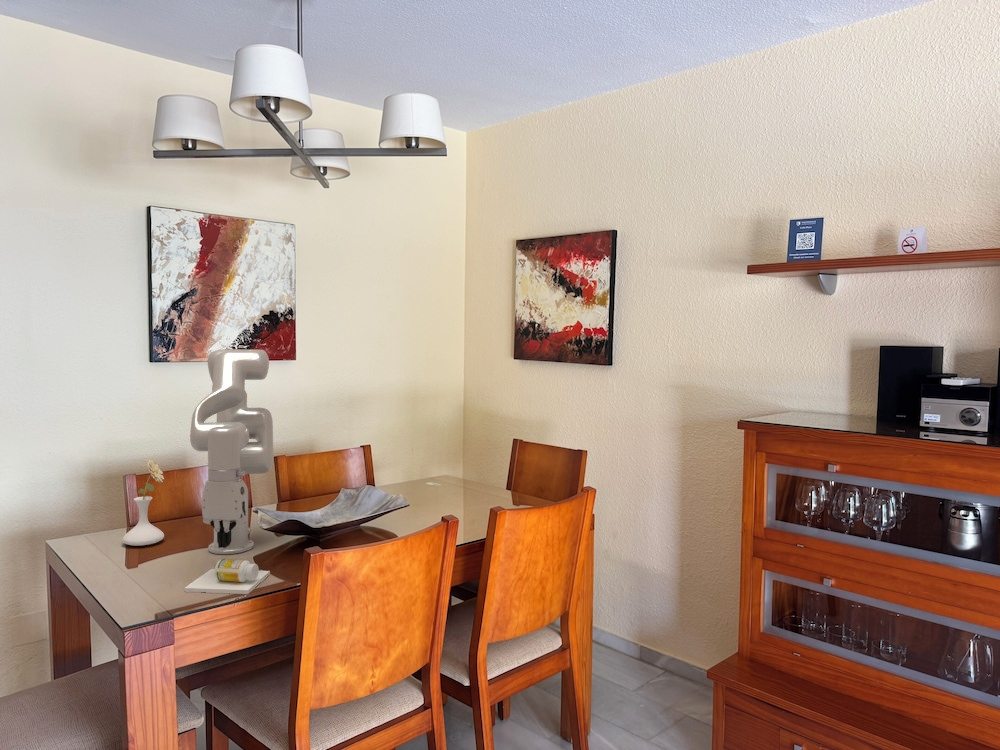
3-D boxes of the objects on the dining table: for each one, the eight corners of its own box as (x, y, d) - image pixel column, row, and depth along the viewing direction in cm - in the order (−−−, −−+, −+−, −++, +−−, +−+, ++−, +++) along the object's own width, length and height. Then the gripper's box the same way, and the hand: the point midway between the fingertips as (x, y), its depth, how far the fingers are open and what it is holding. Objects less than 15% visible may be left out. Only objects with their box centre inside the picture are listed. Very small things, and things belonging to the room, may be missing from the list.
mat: (211, 572, 184) (211, 569, 184) (269, 574, 183) (269, 571, 183) (184, 591, 170) (184, 587, 170) (247, 594, 169) (247, 590, 169)
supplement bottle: (215, 558, 174) (251, 560, 173) (226, 559, 179) (261, 561, 178) (212, 580, 172) (248, 582, 171) (223, 580, 177) (258, 583, 176)
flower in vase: (146, 550, 202) (146, 465, 201) (113, 547, 204) (112, 463, 203) (176, 537, 215) (175, 458, 213) (144, 535, 217) (143, 456, 216)
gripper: (258, 473, 178) (258, 543, 179) (202, 471, 179) (203, 541, 180) (246, 478, 171) (246, 551, 172) (187, 477, 172) (188, 549, 173)
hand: (224, 546), depth 176 cm, fingers closed
